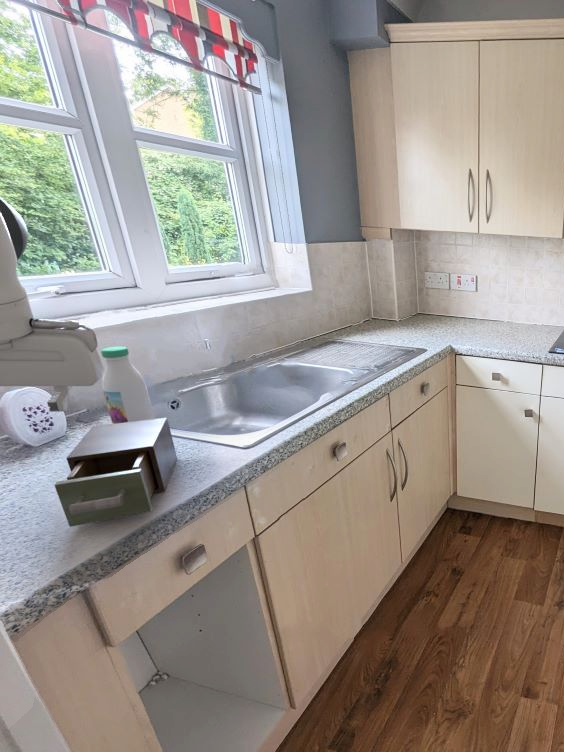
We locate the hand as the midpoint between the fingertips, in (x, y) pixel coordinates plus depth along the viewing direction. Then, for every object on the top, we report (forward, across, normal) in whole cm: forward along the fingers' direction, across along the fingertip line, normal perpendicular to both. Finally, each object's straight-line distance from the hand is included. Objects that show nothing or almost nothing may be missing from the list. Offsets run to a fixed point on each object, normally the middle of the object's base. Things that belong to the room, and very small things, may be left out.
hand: (12, 410), depth 63 cm
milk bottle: (+31, -2, -42) cm, 53 cm away
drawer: (+22, -8, -4) cm, 23 cm away
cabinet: (+25, -8, -14) cm, 30 cm away
